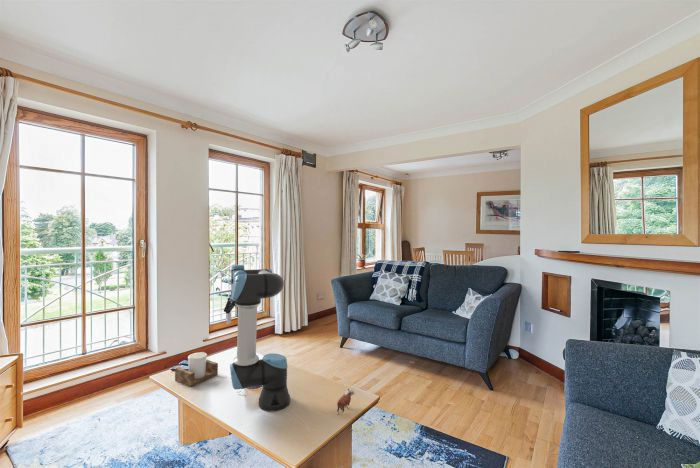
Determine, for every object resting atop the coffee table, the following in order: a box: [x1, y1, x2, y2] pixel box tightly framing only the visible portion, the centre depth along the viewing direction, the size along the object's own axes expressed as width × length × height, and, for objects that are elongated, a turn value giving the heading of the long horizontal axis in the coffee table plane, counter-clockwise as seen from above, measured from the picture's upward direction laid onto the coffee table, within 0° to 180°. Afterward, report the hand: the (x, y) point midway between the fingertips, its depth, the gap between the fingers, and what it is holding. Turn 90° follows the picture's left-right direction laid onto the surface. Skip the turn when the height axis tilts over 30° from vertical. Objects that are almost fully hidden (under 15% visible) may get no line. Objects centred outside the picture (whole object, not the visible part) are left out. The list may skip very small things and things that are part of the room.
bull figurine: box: [336, 388, 356, 414], centre depth 153 cm, size 4×13×8 cm, turn 149°
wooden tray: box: [174, 359, 219, 388], centre depth 182 cm, size 14×17×7 cm
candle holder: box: [187, 351, 208, 380], centre depth 182 cm, size 10×10×12 cm
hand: (236, 325), depth 193 cm, fingers open, 13 cm apart
